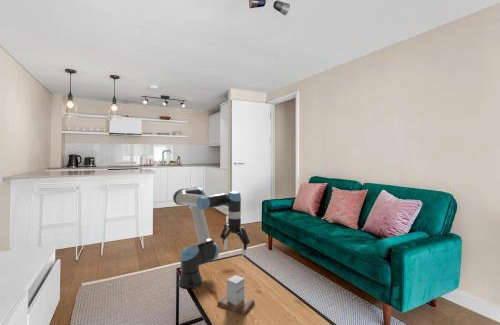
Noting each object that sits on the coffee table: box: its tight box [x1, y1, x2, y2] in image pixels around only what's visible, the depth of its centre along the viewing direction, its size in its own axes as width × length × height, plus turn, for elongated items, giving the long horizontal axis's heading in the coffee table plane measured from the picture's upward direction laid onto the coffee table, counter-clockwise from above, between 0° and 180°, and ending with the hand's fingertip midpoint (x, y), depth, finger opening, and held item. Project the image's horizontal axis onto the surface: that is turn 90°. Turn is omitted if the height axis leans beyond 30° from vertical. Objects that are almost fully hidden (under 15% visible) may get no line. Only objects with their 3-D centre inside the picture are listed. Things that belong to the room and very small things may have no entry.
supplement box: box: [226, 274, 245, 305], centre depth 139 cm, size 7×7×13 cm
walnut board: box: [217, 292, 255, 315], centre depth 140 cm, size 18×11×2 cm, turn 60°
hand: (234, 252), depth 148 cm, fingers open, 13 cm apart
